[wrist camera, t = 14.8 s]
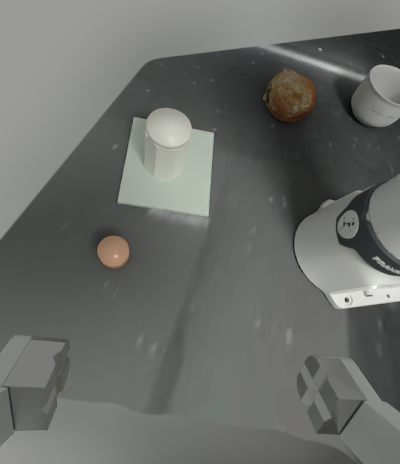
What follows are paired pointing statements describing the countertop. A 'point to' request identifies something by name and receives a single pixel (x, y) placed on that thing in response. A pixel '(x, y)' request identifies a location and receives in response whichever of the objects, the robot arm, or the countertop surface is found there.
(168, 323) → the countertop surface
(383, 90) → the teacup
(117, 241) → the brown egg
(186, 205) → the mat
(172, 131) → the domed hexagonal post
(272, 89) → the bread roll
